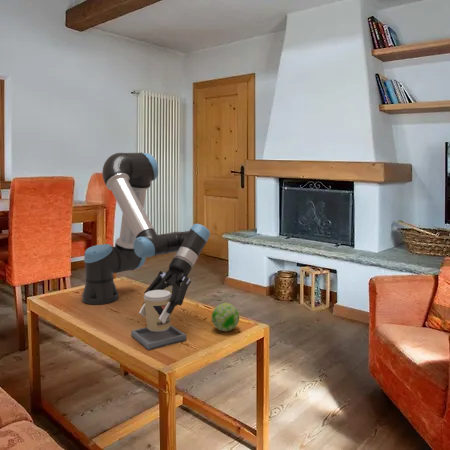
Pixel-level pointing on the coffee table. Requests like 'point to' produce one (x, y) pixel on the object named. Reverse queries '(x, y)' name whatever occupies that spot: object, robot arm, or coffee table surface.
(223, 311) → the decorative ball
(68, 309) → the coffee table surface
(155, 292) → the coffee cup
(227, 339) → the coffee table surface
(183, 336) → the tray
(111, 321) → the coffee table surface
